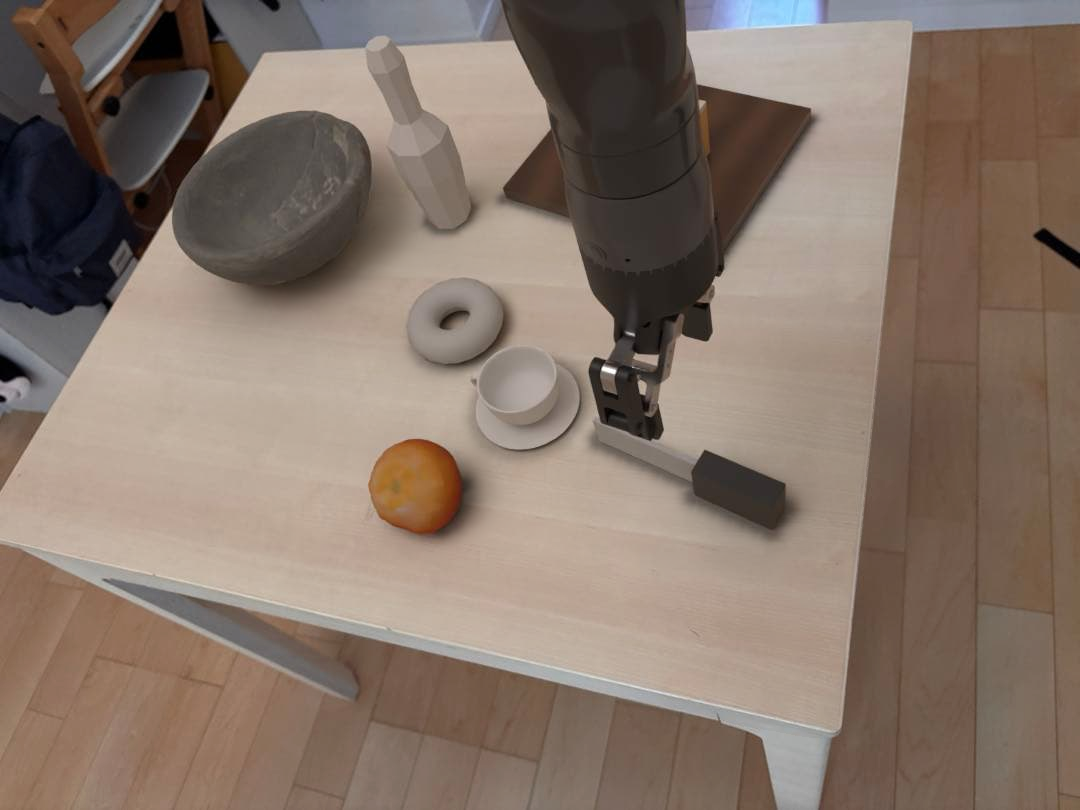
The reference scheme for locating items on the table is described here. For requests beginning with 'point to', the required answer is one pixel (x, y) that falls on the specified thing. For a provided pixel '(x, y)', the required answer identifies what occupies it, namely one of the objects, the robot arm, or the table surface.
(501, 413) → the teacup
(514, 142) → the table surface
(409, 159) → the faceted bottle
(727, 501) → the kitchen blade
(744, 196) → the board
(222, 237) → the bowl
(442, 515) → the fruit
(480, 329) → the donut
